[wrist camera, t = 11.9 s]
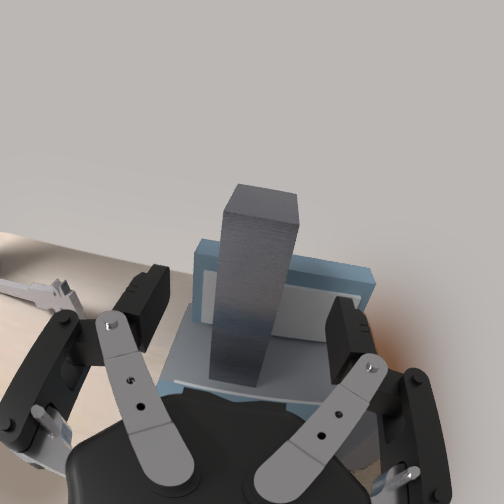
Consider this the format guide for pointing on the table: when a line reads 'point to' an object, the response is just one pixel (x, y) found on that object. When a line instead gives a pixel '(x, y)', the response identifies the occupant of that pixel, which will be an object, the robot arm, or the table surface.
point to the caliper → (45, 295)
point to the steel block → (250, 280)
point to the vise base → (284, 330)
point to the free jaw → (349, 453)
